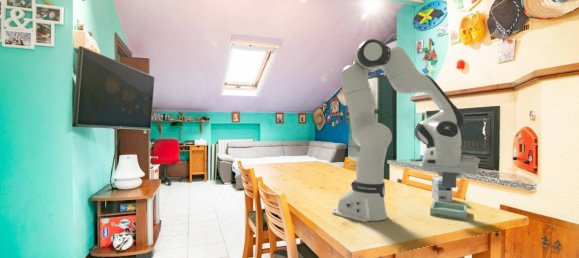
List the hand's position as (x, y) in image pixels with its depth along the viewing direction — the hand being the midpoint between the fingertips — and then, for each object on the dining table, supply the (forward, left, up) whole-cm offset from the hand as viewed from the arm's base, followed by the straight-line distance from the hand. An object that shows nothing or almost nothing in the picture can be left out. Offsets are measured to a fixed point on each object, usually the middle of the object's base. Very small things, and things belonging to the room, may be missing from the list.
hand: (449, 175), depth 118 cm
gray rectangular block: (0, 0, -4) cm, 4 cm away
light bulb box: (-4, +24, -16) cm, 29 cm away
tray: (0, 0, -16) cm, 16 cm away
